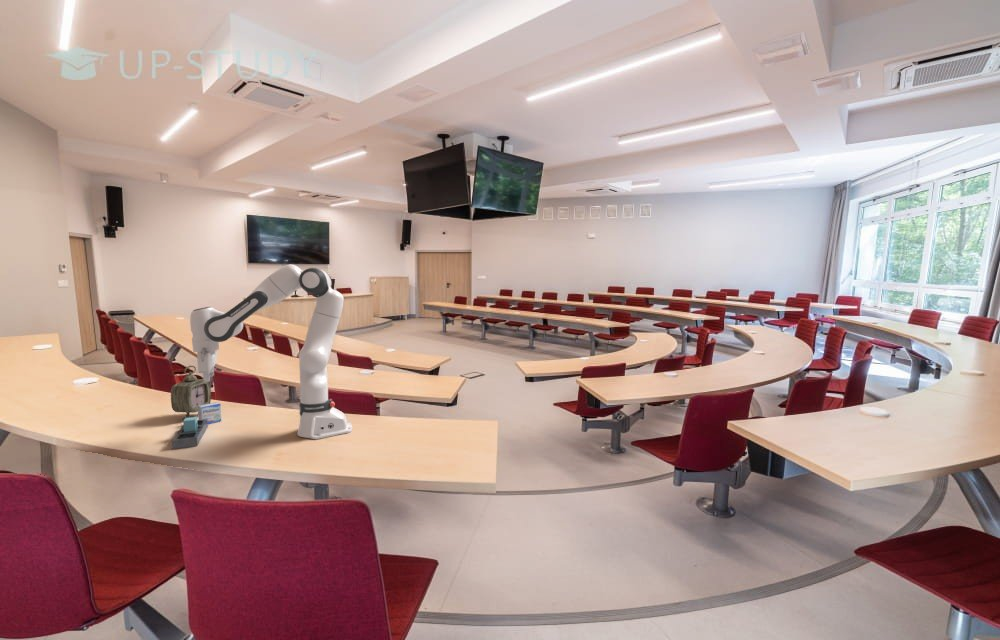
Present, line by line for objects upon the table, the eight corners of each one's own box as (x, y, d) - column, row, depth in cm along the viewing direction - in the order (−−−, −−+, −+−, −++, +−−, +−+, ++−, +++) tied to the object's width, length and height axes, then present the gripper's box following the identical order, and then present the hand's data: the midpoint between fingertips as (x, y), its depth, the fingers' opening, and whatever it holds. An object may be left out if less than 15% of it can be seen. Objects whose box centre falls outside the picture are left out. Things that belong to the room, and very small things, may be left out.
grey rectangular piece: (207, 426, 187) (207, 419, 187) (197, 446, 166) (196, 437, 165) (186, 429, 183) (185, 421, 183) (172, 449, 162) (171, 440, 162)
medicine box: (201, 426, 188) (201, 407, 187) (198, 423, 190) (197, 405, 190) (221, 421, 194) (220, 403, 193) (218, 419, 197) (217, 401, 196)
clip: (197, 435, 177) (197, 416, 176) (196, 438, 174) (195, 419, 173) (186, 436, 175) (185, 418, 175) (184, 439, 172) (183, 421, 171)
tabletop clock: (189, 422, 192) (186, 369, 189) (170, 422, 192) (167, 368, 189) (211, 412, 206) (209, 363, 204) (193, 412, 206) (191, 362, 204)
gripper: (210, 349, 164) (214, 383, 165) (218, 342, 182) (221, 373, 183) (191, 351, 161) (195, 386, 162) (201, 343, 179) (204, 374, 181)
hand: (209, 379), depth 173 cm, fingers open, 8 cm apart
